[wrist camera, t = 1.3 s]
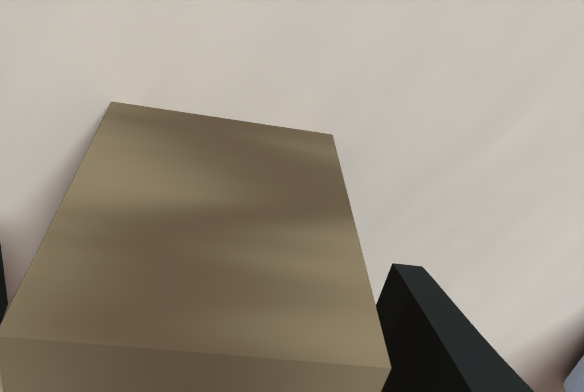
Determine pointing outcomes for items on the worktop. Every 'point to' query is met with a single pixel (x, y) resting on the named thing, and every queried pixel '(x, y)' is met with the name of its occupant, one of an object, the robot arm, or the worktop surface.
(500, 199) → the worktop surface
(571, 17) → the worktop surface
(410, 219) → the worktop surface
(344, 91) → the worktop surface
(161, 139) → the walnut block
